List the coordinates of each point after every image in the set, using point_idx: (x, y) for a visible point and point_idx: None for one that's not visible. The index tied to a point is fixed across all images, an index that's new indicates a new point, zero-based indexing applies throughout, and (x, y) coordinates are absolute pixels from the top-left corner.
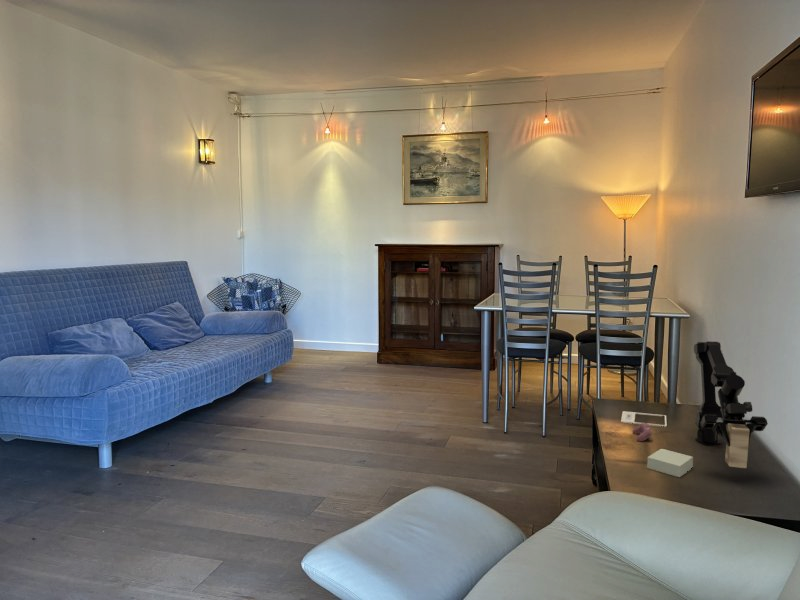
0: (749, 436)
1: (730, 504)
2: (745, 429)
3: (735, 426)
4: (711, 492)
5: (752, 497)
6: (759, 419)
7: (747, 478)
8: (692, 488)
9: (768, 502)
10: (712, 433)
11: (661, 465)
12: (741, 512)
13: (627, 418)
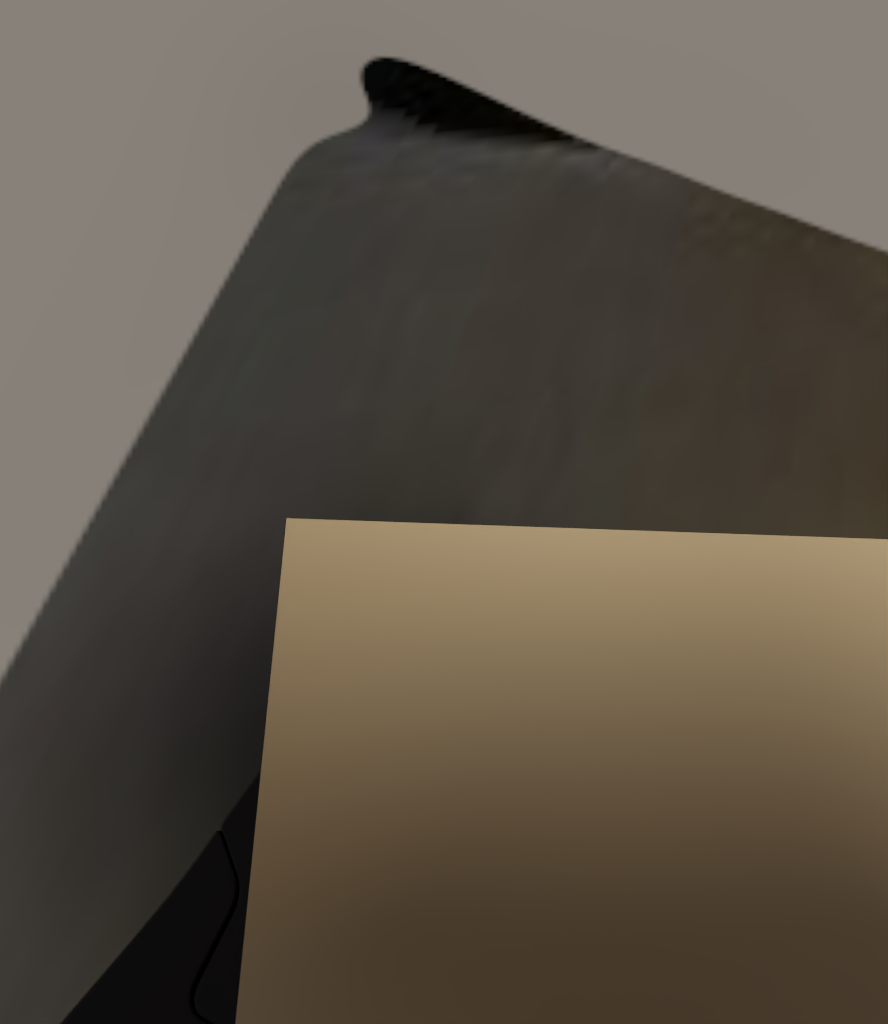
0: (245, 825)
1: (612, 261)
2: (467, 553)
3: (885, 974)
4: (695, 413)
5: (441, 374)
6: None
7: None
8: (812, 458)
9: (363, 316)
10: None
11: None
12: (574, 174)
13: None
